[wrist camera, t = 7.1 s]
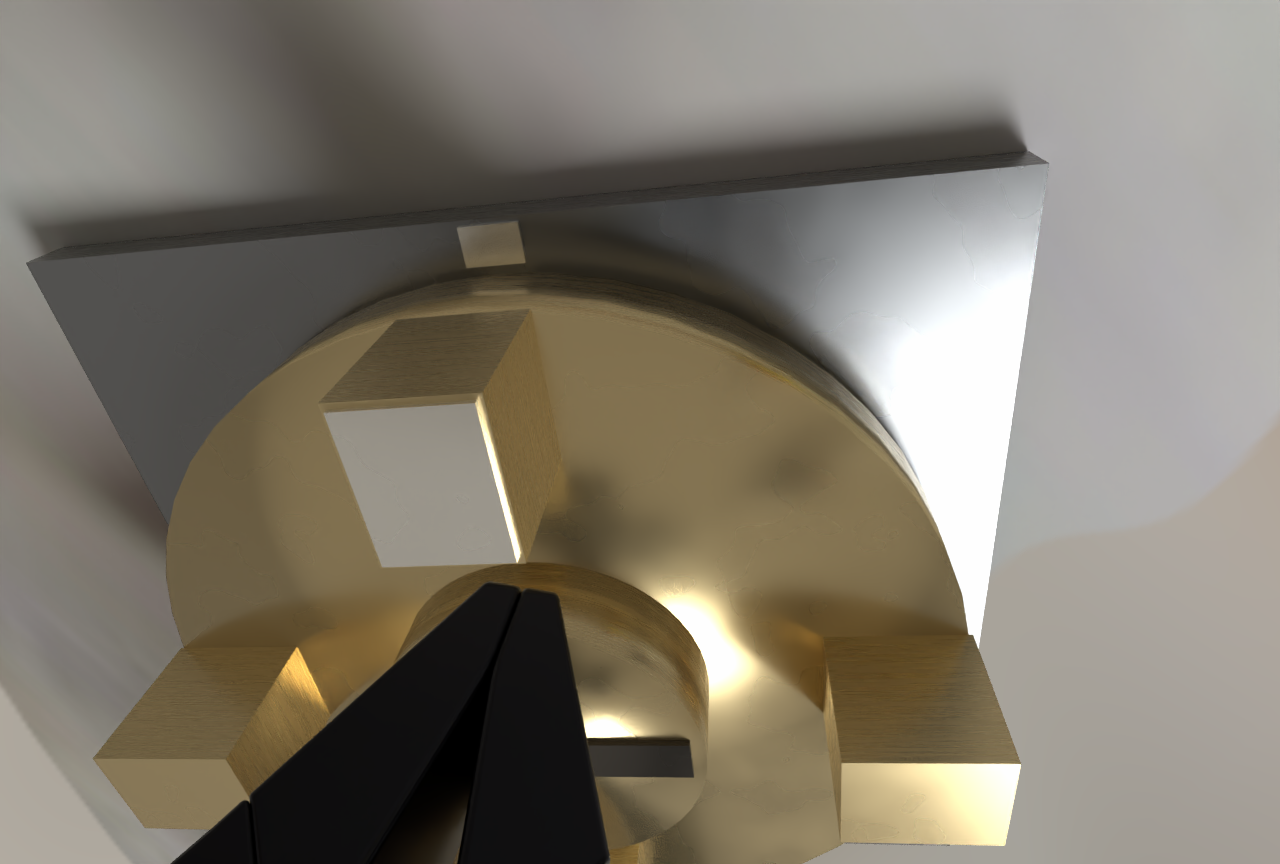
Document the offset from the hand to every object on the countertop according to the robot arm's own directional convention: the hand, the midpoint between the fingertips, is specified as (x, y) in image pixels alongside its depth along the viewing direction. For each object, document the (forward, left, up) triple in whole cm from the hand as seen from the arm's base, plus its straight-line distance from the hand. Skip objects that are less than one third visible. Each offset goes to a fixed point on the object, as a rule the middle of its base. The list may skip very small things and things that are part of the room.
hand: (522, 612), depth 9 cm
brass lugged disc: (-7, +2, -7) cm, 11 cm away
